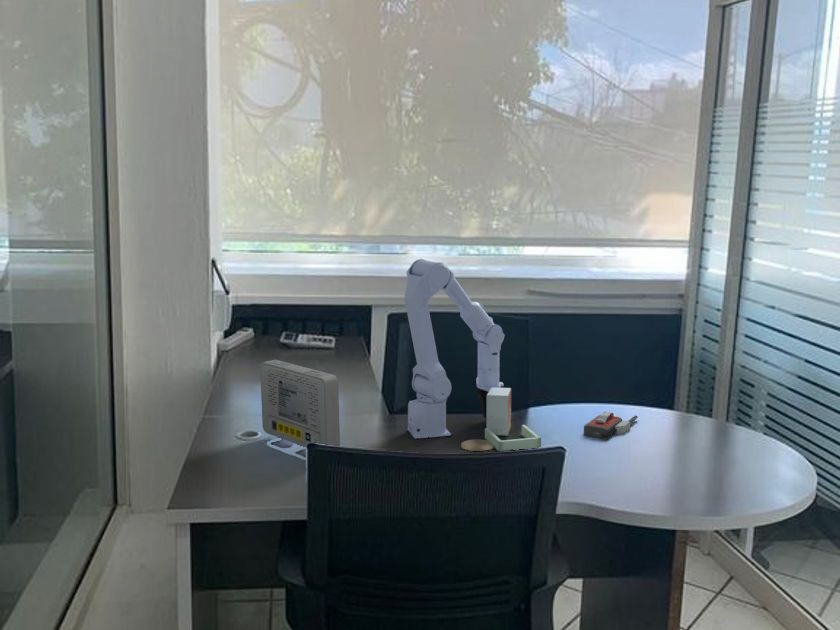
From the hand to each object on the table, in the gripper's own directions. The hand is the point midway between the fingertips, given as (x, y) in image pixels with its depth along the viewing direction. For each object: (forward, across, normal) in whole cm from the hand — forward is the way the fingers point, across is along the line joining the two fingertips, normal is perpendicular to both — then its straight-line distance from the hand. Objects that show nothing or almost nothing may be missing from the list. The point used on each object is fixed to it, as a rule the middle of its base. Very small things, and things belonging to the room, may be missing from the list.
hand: (488, 417), depth 230 cm
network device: (+1, -8, +51) cm, 52 cm away
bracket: (+1, -18, 0) cm, 18 cm away
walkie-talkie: (+2, -14, -28) cm, 32 cm away
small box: (+1, -8, 0) cm, 9 cm away
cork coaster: (+1, -18, +9) cm, 21 cm away
